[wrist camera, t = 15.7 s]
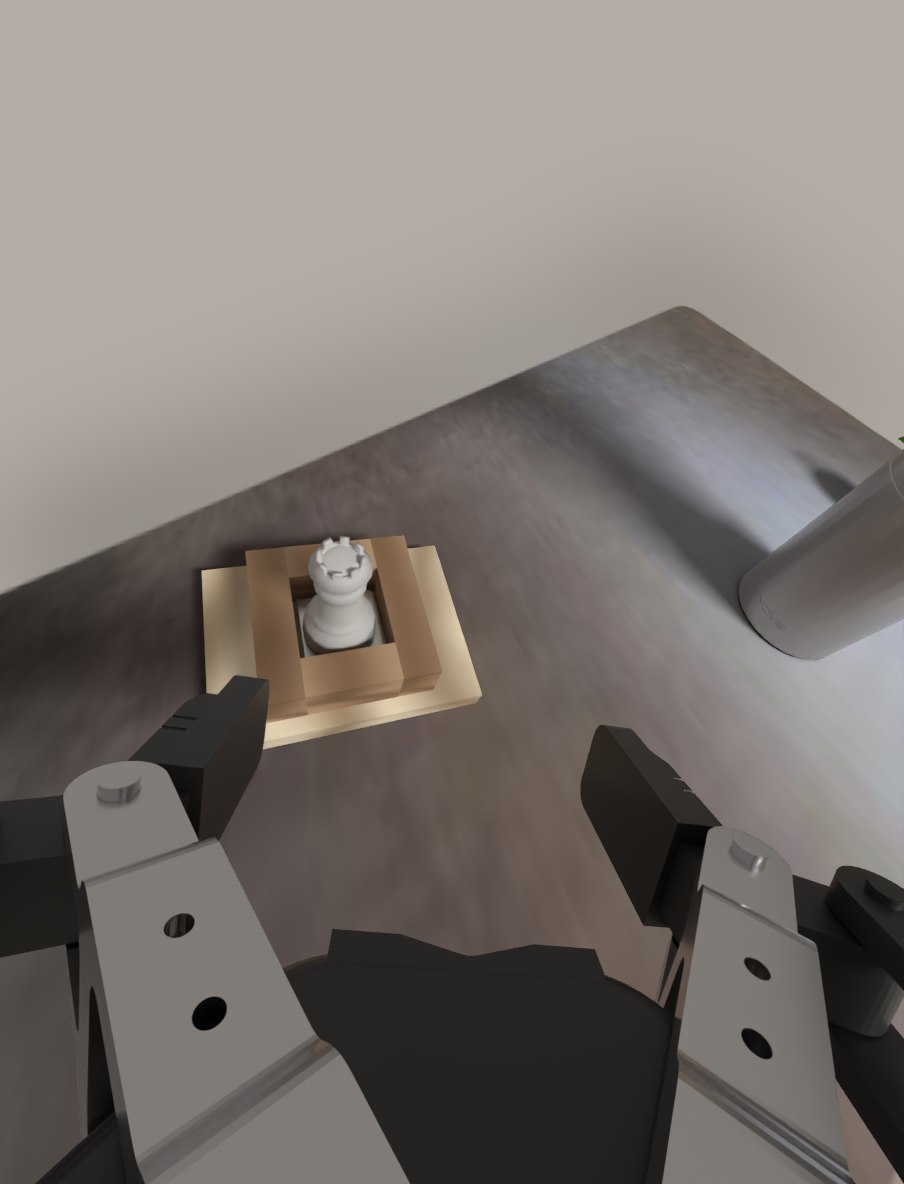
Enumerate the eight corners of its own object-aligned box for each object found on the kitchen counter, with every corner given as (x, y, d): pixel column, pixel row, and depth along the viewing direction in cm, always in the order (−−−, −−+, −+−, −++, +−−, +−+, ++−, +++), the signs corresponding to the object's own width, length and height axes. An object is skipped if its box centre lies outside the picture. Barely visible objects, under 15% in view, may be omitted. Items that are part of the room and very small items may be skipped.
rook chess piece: (290, 614, 31) (279, 536, 24) (355, 589, 33) (361, 510, 26) (321, 674, 29) (317, 607, 22) (387, 643, 31) (402, 574, 24)
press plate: (370, 595, 33) (370, 589, 33) (384, 659, 31) (385, 654, 31) (297, 605, 32) (296, 599, 31) (307, 673, 30) (306, 667, 29)
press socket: (431, 557, 38) (441, 520, 34) (476, 702, 33) (494, 677, 29) (206, 582, 33) (190, 542, 29) (214, 759, 28) (195, 738, 24)
